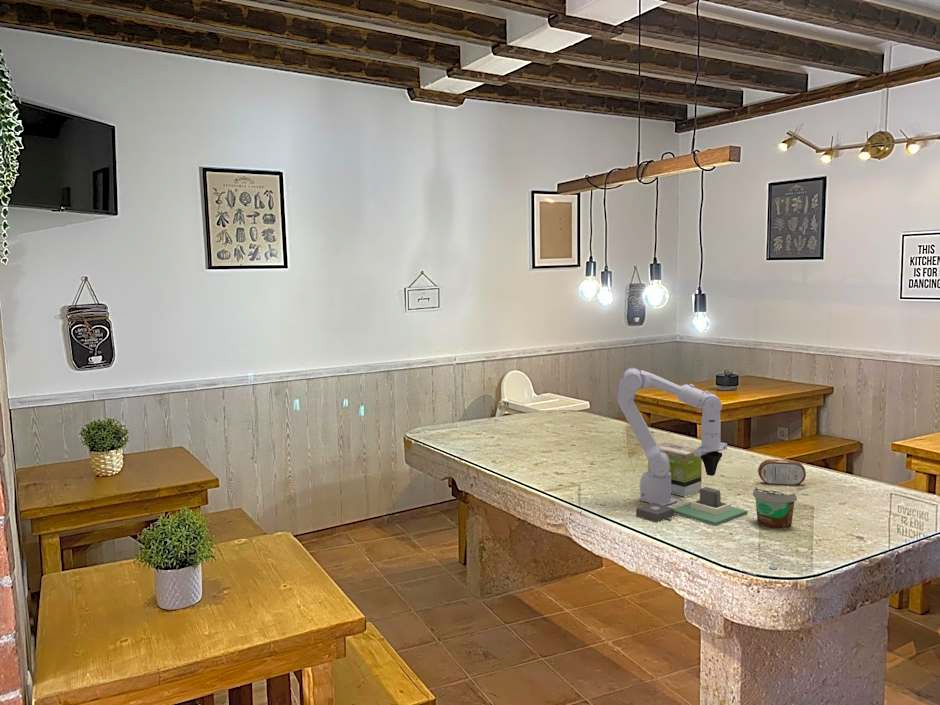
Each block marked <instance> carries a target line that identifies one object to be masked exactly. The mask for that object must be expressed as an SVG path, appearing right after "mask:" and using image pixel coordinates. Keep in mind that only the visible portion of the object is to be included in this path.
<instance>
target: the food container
mask: <svg viewBox="0 0 940 705" xmlns="http://www.w3.org/2000/svg"><path fill="white" fill-rule="evenodd" d="M752 496H753V497H754V498H755V506H756V508H755V510H756V521H757V523H758V524H759V525H761V526H762V525H763V527H765V526H766V527H765V528H771V529H788V528H791V527H792V523H793V517H794V516H793V515H794V507H795V502H796V501H798V499H797V495H796V493H795V492H794V493H791V494H786V493H783V492H779V491H776V490H763V489H760V488H758V486H757V485H755V486H754V488H753V491H752Z"/></svg>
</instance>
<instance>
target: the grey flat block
mask: <svg viewBox="0 0 940 705" xmlns="http://www.w3.org/2000/svg"><path fill="white" fill-rule="evenodd" d="M674 508H675V507H674ZM674 508H673V507H669V506H667V505H665V506H664V505H660V504H657V503H647V504H645V505H641V506H639V507H638V506H637V507H636V508H635V509H636V510H635V515H638V516H637V517H639V516H641V517H640V518H642V517H644V518H643V519H645V518H647V519H646V520H649V519H650V520H649V521H652V520H653V521H652V522H655V521H656V522H655V523H659V522H662V521H664V520H663V519H665V520H666V519H668V521H670V522H672V521H673V519H672V518H673V517H672V516H674V517H675V514H674ZM669 517H671V518H669ZM661 520H662V521H661ZM671 520H672V521H671ZM658 521H659V522H658Z"/></svg>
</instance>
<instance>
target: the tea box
mask: <svg viewBox="0 0 940 705" xmlns="http://www.w3.org/2000/svg"><path fill="white" fill-rule="evenodd" d="M657 444H658V443H657ZM658 445H659V447H660V448H661V450H662V451H663V452H664V453H666V454H667V455H668V457H669V464H670V471H669V472H670V473H671V493H672V494H671V495H675V494H676V495H675V496H678V495H680V496H679V497H681V496H684V497H683V498H686V497H685V496H687V497H689V496H688V495H690V496H692V495H695V494H697V493H696V492H698V493H700V492H699V491H700V489H701V488H702V471H703V470H702V468H703V467H702V465H703V461H702V459H701V457H698V456H694V450H695V449H697V448H696V447H695V448H694V447H690V446H684V445H680V444H675V443H671V442H666V441H665V442H662V443H659V444H658ZM647 463H648V464H647V472H649V471H650V464H649V461H648V460H647ZM694 493H695V494H694ZM691 494H692V495H691Z"/></svg>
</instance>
